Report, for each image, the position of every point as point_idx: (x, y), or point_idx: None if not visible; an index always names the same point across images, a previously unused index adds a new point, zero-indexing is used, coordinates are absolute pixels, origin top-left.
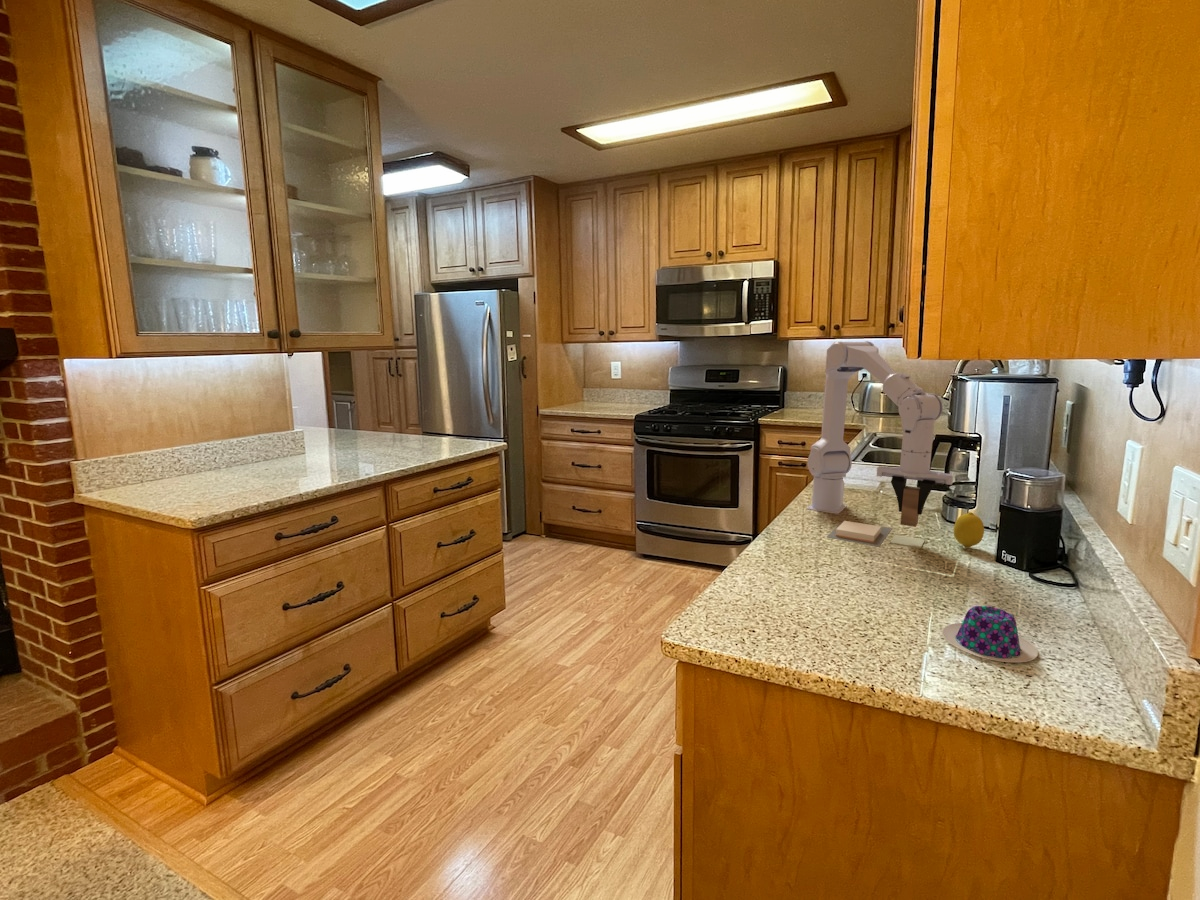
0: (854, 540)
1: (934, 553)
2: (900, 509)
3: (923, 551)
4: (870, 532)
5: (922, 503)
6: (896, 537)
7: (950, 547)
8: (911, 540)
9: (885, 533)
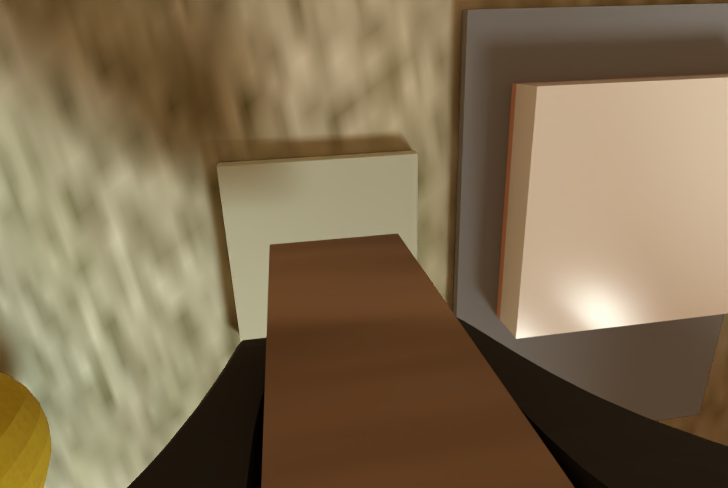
0: (629, 47)
1: (120, 147)
2: None
3: (194, 145)
4: (567, 152)
5: (207, 412)
6: None
7: (82, 343)
8: None
9: None
